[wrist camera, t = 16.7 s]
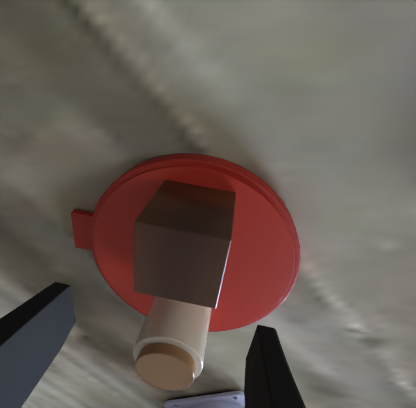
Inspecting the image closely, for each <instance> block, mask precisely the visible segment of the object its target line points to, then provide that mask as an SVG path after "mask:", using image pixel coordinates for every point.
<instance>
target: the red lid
mask: <svg viewBox="0 0 416 408" xmlns="http://www.w3.org/2000/svg"><path fill="white" fill-rule="evenodd" d="M164 180H171V181H176V182H182V183H187V184H192V185H198V186H203V187H208V188H214V189H219V190H224V191H230V192H235V193H236V202H235V212H234V222H233V232H232V241H231V246H230V250H229V254H228V259H227V263H226V268H225V272H224V277H223V281H222V285H221V290H220V294H219V299H218V303H217V308H216V309H214V308H212V311H211V317H210V324H209V331H208V332H217V331H226V330H231V329H236V328H240V327H243V326H246V325H249V324H252V323H254V322H256V321H258V320H260V319H262V318H263V317H265V316H267V315H268V314H270V313H271V312H272V311H273V310H275V309H276V308H277V307H278V306H279V305H280V304H281V303H282V302H283V301H284V300H285V298H286V297H287V296H288V294H289V293H290V291H291V289H292V287H293V285H294V283H295V281H296V278H297V275H298V271H299V265H300V246H299V241H298V236H297V232H296V229H295V225H294V223H293V220H292V218H291V215H290V213H289V211H288V210H287V208H286V206H285V204H284V203H283V201H282V200H281V199H280V198H279V196H278V195H277V194H276V193H275V191H274V190H273V189H272V188H270V187H269V186H268V185H267V184H266V183H265V182H264V181H263V180H261V179H260V178H259V177H257V176H256V175H255V174H253V173H252V172H250V171H248V170H246V169H244V168H243V167H241V166H239V165H237V164H234V163H232V162H229V161H226V160H224V159H220V158H216V157H212V156H208V155H200V154H172V155H165V156H160V157H157V158H153V159H150V160H147V161H145V162H143V163H140V164H138V165H136V166H134V167H133V168H131V169H130V170H128V171H127V172H125V173H124V174H123V175H122V176H121V177H119V178H118V179H117V180H116V181H115V182H114V183H113V184H112V185H111V186H110V187H109V188H108V189H107V190H106V191H105V193H104V194H103V195H102V196H101V198H100V200H99V202H98V204H97V206H96V208H95V211H94V213H90V212H85V211H80V210H74V211H72V212H71V215H72V224H73V233H74V241H75V247H77V248H82V249H87V250H92V253H93V256H94V259H95V262H96V264H97V267H98V269H99V271H100V273H101V274H102V276H103V278H104V279H105V281H106V282H107V283H108V285H109V286H110V287H111V289H112V290H113V291H114V292H115V293H116V294H117V295H118V296H119V297H120V298H121V299H122V300H123V301H125V302H126V303H127V304H128V305H130V306H131V307H132V308H134V309H135V310H137V311H138V312H140V313H142V314H143V315H145V316H147V314H148V311H149V309H150V306H151V304H152V301H153V299H154V296H152V295H147V294H143V293H138V292H134V234H135V220H136V219H137V218H138V216H139V215H140V213H141V212H142V211H143V209H144V208H145V206H146V205H147V204H148V202H149V201H150V200H151V198H152V197H153V195H154V194H155V193H156V191H157V190H158V189H159V187H160V186H161V184H162V183H163V182H164Z"/></svg>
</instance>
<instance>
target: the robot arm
mask: <svg viewBox="0 0 416 408" xmlns="http://www.w3.org/2000/svg"><path fill="white" fill-rule="evenodd" d="M74 323H75V314H74V307H73V299H72V292H71V285H67V284H63V283H58V282H55V283H53V284H52V285H50V286H49V287H47V288H45V289H44V290H43V291H41V292H40V293H38V294H37V295H35V296H34V297H32V298H31V299H29V300H28V301H26V302H25V303H23V304H22V305H20V306H19V307H17V308H16V309H14V310H13V311H11V312H10V313H8V314H7V315H5V316H4V317H2V318H1V319H0V408H21V407H22V405H23V404H24V402H25V401H26V399H27V398H28V396H29V395H30V394H31V392H32V391H33V389H34V388H35V386H36V385H37V383H38V382H39V380H40V379H41V377H42V376H43V374H44V373H45V372H46V370H47V369H48V367H49V366H50V364H51V363H52V361H53V360H54V358H55V357H56V355H57V354H58V352H59V351H60V349H61V347H62V346H63V344H64V342H65V340H66V338H67V337H68V335H69V333H70V331H71V329H72V327H73V325H74ZM164 407H165V408H306V407H305V405H304V402H303V400H302V398H301V395H300V393H299V391H298V388H297V386H296V383H295V381H294V379H293V376H292V374H291V371H290V369H289V366H288V363H287V361H286V358H285V355H284V353H283V350H282V347H281V344H280V341H279V338H278V335H277V332H276V330H275V329H274V328H271V327H266V326H261V325H257V328H256V331H255V334H254V337H253V340H252V343H251V346H250V349H249V352H248V355H247V357H246V368H245V386H244V393H243V392H242V391H232V392H225V393H218V394H211V395H204V396H197V397H190V398H183V399H176V400H169V401H166V402H165V404H164Z"/></svg>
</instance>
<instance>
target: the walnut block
mask: <svg viewBox="0 0 416 408" xmlns="http://www.w3.org/2000/svg"><path fill="white" fill-rule="evenodd" d="M235 202H236V193H235V192H230V191H224V190H219V189H214V188H208V187H203V186H198V185H192V184H187V183H182V182H176V181H171V180H164V182H163V183H162V184H161V186H160V187H159V189H158V190H157V191H156V193H155V194H154V195H153V197H152V198H151V200H150V201H149V202H148V204H147V205H146V206H145V208H144V209H143V211H142V212H141V213H140V215H139V216H138V218H137V219H136V220H135V234H134V292H138V293H143V294H147V295H152V296H157V297H161V298H166V299H171V300H176V301H180V302H185V303H190V304H195V305H199V306H204V307H209V308H214V309H216V308H217V303H218V299H219V294H220V290H221V285H222V281H223V277H224V272H225V268H226V263H227V259H228V254H229V250H230V246H231V241H232V232H233V222H234V212H235Z"/></svg>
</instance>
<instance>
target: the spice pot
mask: <svg viewBox="0 0 416 408" xmlns="http://www.w3.org/2000/svg"><path fill="white" fill-rule="evenodd" d="M211 311H212V308H209V307H204V306H199V305H195V304H190V303H185V302H180V301H176V300H171V299H166V298H161V297H157V296H154V299H153V301H152V304H151V306H150V309H149V311H148V314H147V316H146V319H145V321H144V324H143V326H142V328H141V331H140V333H139V336H138V338H137V341H136V343H135V346H134V348H133V359H134V361H135V371H136V373H137V374H138V376H139V377H140V378H141V379H142V380H143V381H144V382H146V383H147V384H149V385H151V386H153V387H156V388H159V389H163V390H169V391H176V390H182V389H185V388H187V387H189V386H190V385H191V384H192V383H193V381H194V379H195V378H196V377H198V376H199V374H200V373H201V372H202V369H203V364H204V357H205V350H206V344H207V337H208V331H209V324H210V317H211Z"/></svg>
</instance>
